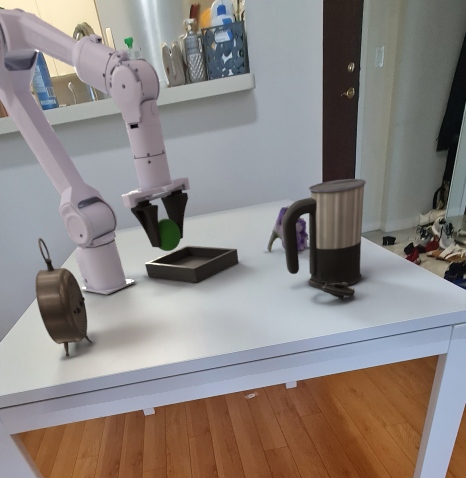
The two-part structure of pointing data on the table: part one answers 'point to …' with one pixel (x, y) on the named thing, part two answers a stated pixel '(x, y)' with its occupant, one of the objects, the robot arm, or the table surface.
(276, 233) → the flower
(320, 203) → the milk frother
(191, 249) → the tray
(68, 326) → the alarm clock
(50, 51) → the robot arm
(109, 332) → the table surface
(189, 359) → the table surface
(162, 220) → the green ball
